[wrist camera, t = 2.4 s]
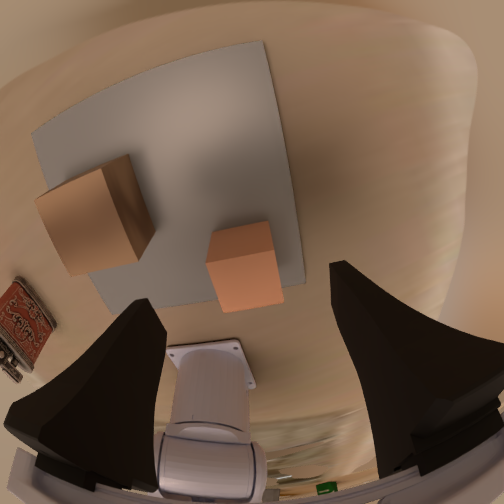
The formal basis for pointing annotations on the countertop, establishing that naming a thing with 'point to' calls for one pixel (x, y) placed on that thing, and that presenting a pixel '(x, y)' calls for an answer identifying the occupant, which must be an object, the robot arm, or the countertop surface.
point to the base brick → (97, 218)
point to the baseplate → (185, 167)
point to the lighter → (22, 328)
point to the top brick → (244, 267)
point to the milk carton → (326, 488)
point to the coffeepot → (271, 495)
